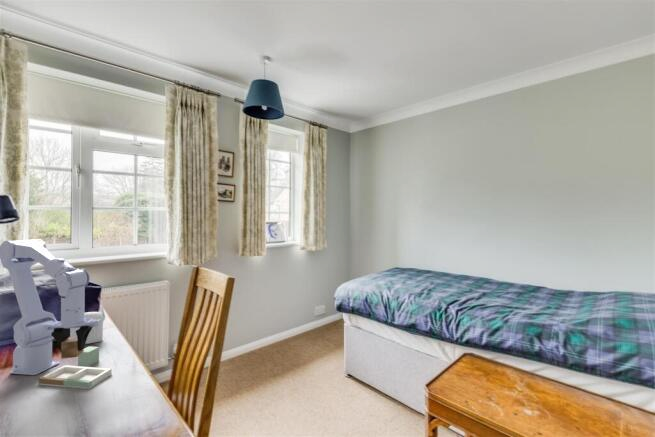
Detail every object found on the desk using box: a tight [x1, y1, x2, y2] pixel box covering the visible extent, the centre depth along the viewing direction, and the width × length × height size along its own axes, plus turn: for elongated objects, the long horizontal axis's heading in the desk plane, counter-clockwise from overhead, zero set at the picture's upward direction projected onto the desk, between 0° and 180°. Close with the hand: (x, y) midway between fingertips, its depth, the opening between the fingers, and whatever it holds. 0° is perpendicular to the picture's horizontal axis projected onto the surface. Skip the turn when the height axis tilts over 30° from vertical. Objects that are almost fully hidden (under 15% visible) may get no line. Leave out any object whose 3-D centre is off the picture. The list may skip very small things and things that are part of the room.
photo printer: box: [69, 311, 104, 345], centre depth 118 cm, size 10×4×12 cm, turn 129°
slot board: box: [38, 364, 113, 390], centre depth 92 cm, size 17×8×2 cm, turn 83°
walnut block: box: [60, 336, 85, 359], centre depth 94 cm, size 4×4×5 cm
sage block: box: [77, 345, 100, 367], centre depth 102 cm, size 4×4×5 cm
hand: (72, 350), depth 94 cm, fingers closed on walnut block, 4 cm apart
